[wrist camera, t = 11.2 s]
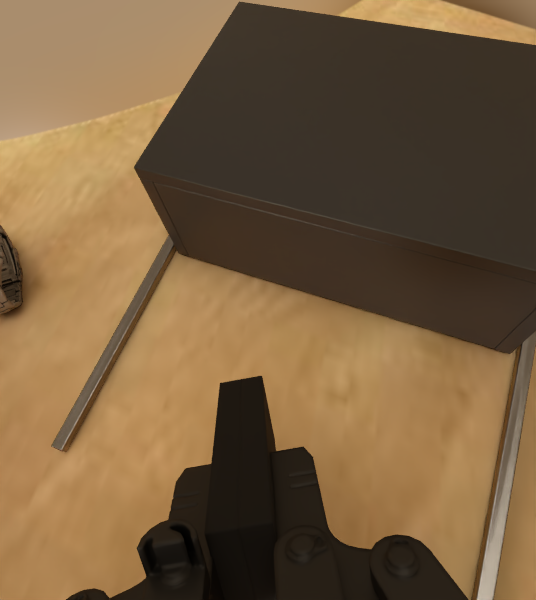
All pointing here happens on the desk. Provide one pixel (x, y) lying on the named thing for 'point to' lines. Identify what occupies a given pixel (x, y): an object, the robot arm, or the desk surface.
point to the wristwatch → (9, 275)
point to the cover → (360, 168)
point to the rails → (506, 455)
